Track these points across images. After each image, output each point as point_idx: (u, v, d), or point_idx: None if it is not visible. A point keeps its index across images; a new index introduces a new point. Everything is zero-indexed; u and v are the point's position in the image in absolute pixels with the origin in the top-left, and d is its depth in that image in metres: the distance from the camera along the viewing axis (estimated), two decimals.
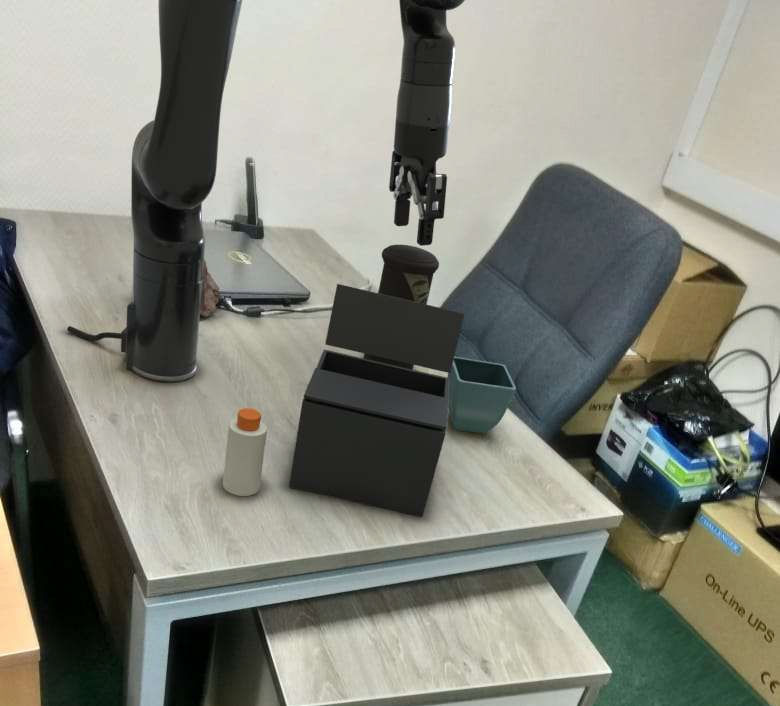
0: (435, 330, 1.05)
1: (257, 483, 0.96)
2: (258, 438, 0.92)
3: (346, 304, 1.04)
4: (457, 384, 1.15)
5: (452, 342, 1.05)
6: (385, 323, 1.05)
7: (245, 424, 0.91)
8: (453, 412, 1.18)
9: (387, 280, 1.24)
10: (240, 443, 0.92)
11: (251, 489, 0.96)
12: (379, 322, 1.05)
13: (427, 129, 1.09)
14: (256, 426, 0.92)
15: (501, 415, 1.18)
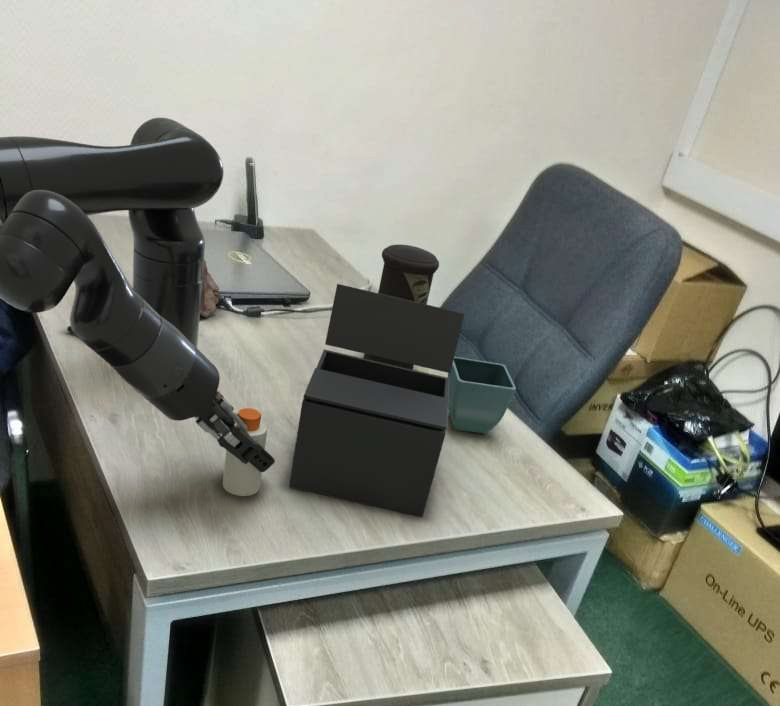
0: (435, 330, 1.05)
1: (257, 483, 0.96)
2: (258, 438, 0.92)
3: (346, 304, 1.04)
4: (457, 384, 1.15)
5: (452, 342, 1.05)
6: (385, 323, 1.05)
7: None
8: (453, 412, 1.18)
9: (387, 280, 1.24)
10: None
11: (251, 489, 0.96)
12: (379, 322, 1.05)
13: (173, 393, 0.81)
14: (256, 425, 0.92)
15: (501, 415, 1.18)
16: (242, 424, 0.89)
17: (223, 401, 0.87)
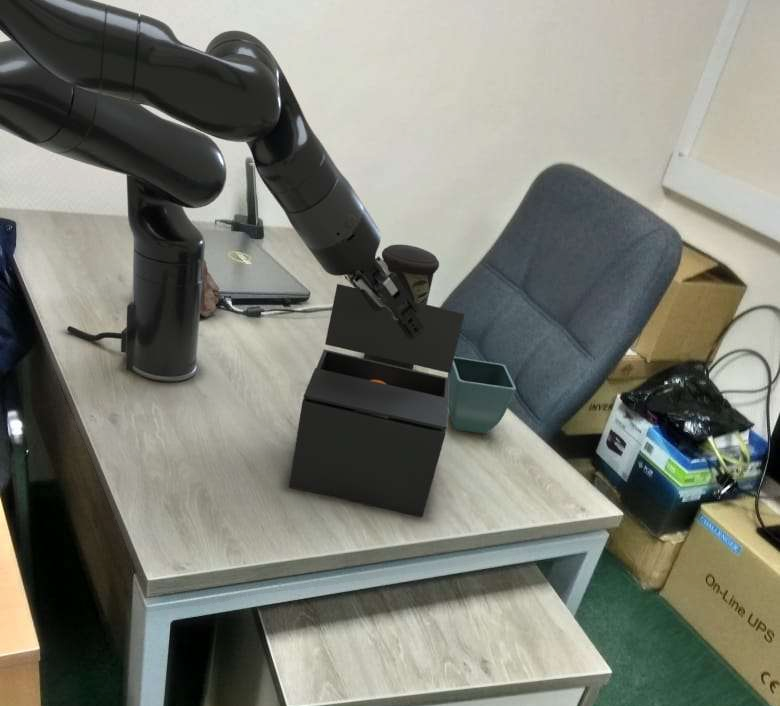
0: (435, 330, 1.05)
1: None
2: None
3: (346, 304, 1.04)
4: (457, 384, 1.15)
5: (452, 342, 1.05)
6: (385, 323, 1.05)
7: None
8: (453, 412, 1.18)
9: None
10: None
11: None
12: (379, 322, 1.05)
13: (343, 242, 0.85)
14: None
15: (501, 415, 1.18)
16: None
17: (379, 258, 0.91)
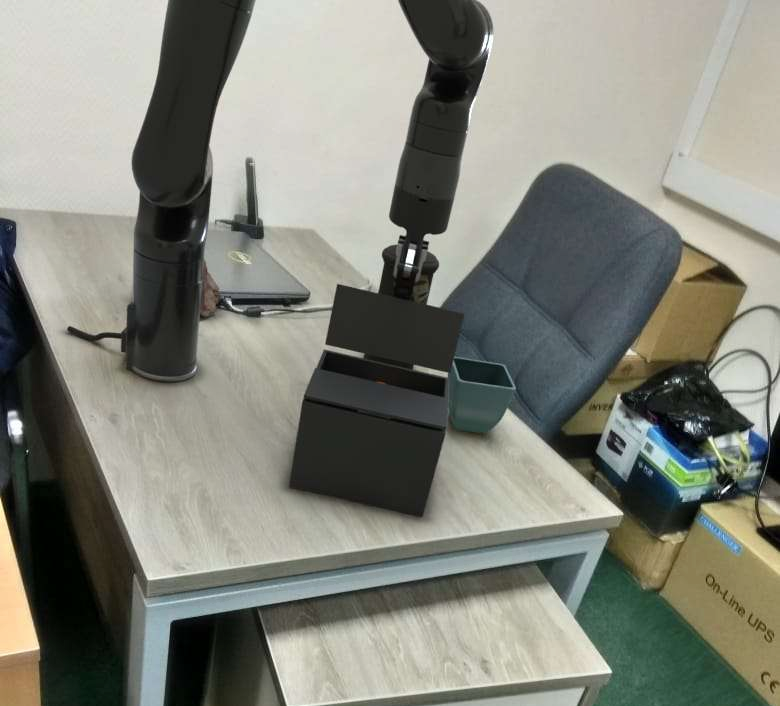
0: (435, 330, 1.05)
1: None
2: None
3: (346, 304, 1.04)
4: (457, 384, 1.15)
5: (452, 342, 1.05)
6: (385, 323, 1.05)
7: None
8: (453, 412, 1.18)
9: (387, 280, 1.24)
10: None
11: None
12: (379, 322, 1.05)
13: (415, 197, 0.96)
14: None
15: (501, 415, 1.18)
16: (418, 275, 1.03)
17: (426, 251, 1.01)
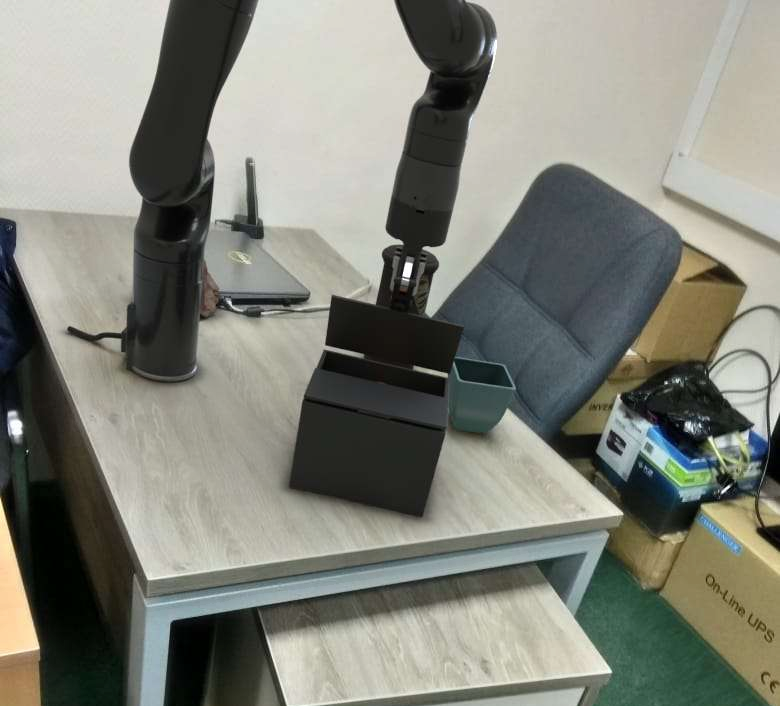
0: (434, 339, 1.02)
1: None
2: None
3: (342, 314, 1.01)
4: (457, 384, 1.15)
5: (451, 350, 1.03)
6: (383, 331, 1.02)
7: None
8: (453, 412, 1.18)
9: (387, 280, 1.24)
10: None
11: None
12: (377, 330, 1.02)
13: (412, 209, 0.93)
14: None
15: (501, 415, 1.18)
16: (415, 289, 1.00)
17: (424, 264, 0.98)
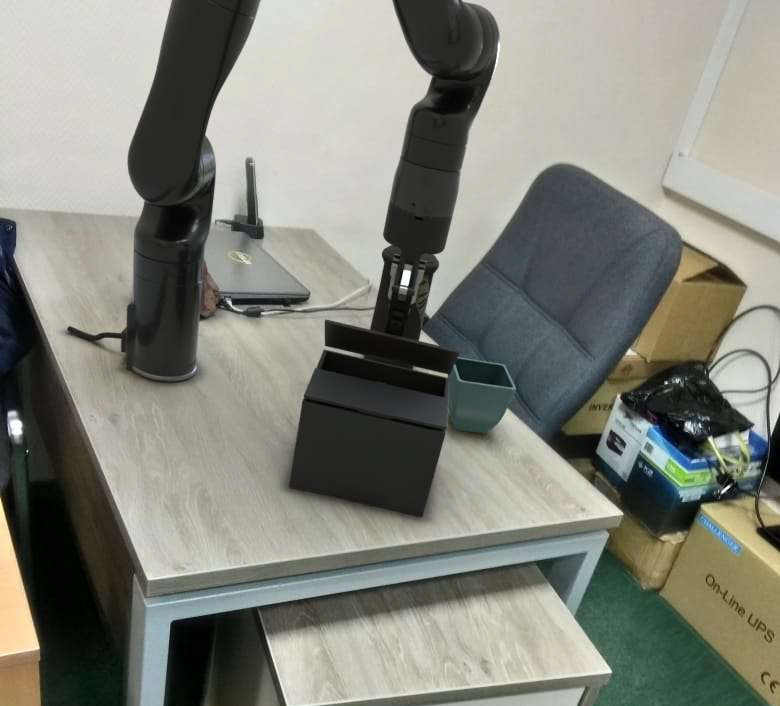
0: (431, 356, 1.01)
1: None
2: None
3: (337, 332, 1.00)
4: (457, 384, 1.15)
5: (449, 363, 1.02)
6: (380, 346, 1.02)
7: None
8: (453, 412, 1.18)
9: (387, 280, 1.24)
10: None
11: None
12: (373, 344, 1.02)
13: (411, 215, 0.90)
14: None
15: (501, 415, 1.18)
16: (414, 297, 0.97)
17: (422, 271, 0.95)
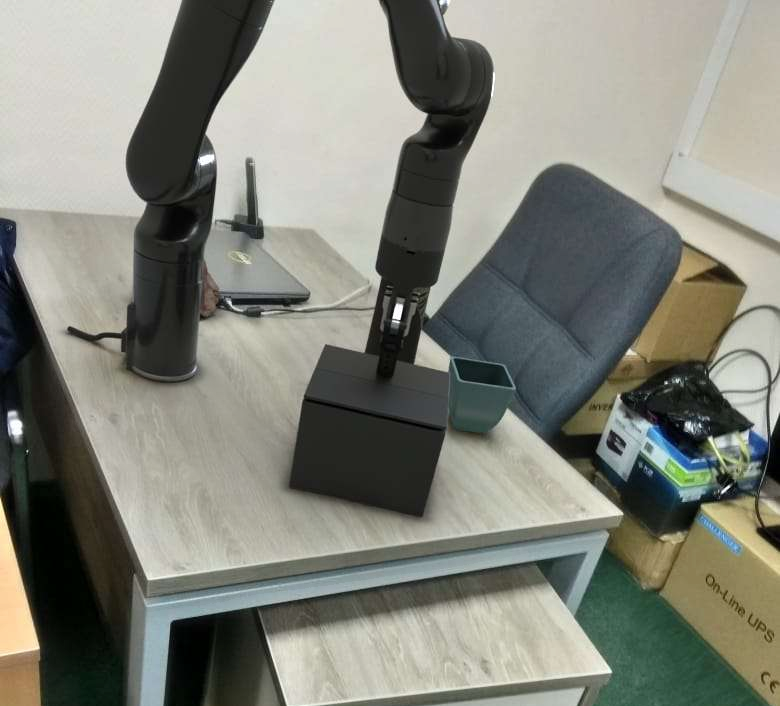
0: None
1: None
2: None
3: None
4: (457, 384, 1.15)
5: None
6: None
7: None
8: (453, 412, 1.18)
9: (387, 280, 1.24)
10: None
11: None
12: None
13: (402, 249, 0.89)
14: None
15: (501, 415, 1.18)
16: (407, 330, 0.96)
17: (415, 304, 0.94)
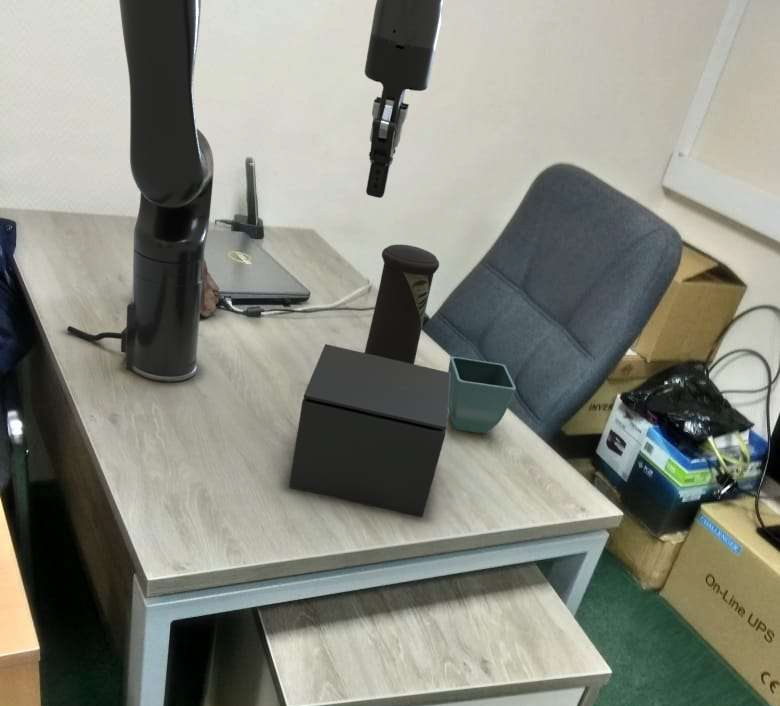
0: None
1: None
2: None
3: None
4: (457, 384, 1.15)
5: None
6: None
7: None
8: (453, 412, 1.18)
9: (387, 280, 1.24)
10: None
11: None
12: None
13: (392, 44, 0.88)
14: None
15: (501, 415, 1.18)
16: (397, 140, 0.95)
17: (405, 110, 0.93)
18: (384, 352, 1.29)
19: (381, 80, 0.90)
